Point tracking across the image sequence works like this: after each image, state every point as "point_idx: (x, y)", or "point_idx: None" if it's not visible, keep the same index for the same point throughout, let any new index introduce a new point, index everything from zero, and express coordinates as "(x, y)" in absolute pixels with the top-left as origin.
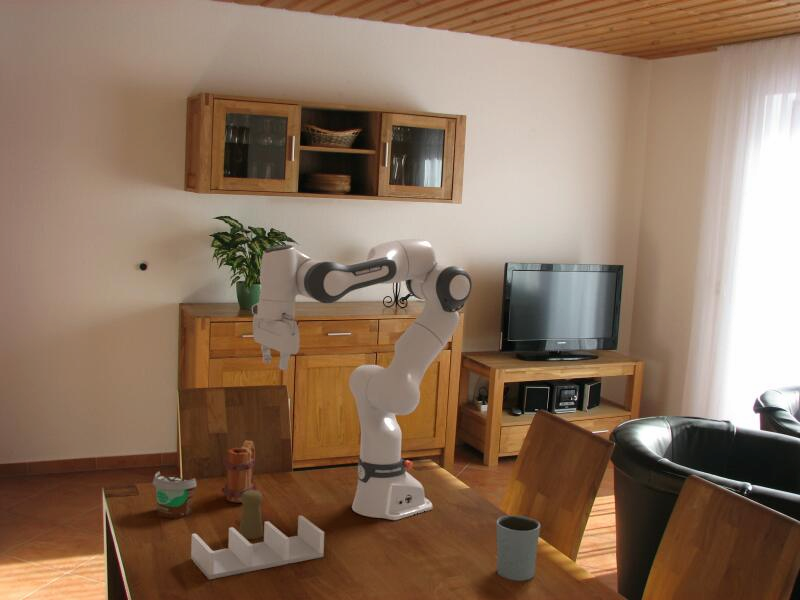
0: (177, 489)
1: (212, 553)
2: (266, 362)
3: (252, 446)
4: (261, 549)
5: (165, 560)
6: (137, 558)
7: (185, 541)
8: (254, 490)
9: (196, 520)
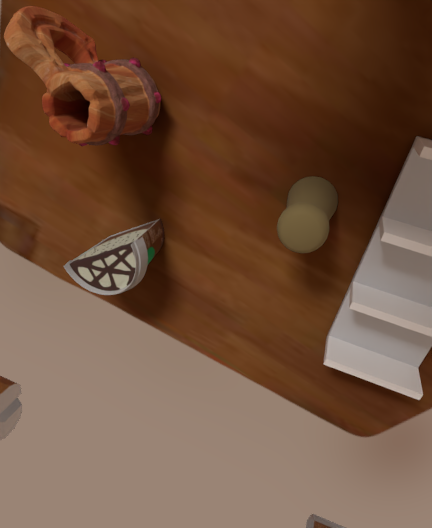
0: (143, 276)
1: (421, 395)
2: (19, 414)
3: (29, 26)
4: (404, 252)
5: (301, 359)
6: (267, 375)
7: (259, 298)
8: (295, 222)
9: (189, 229)
